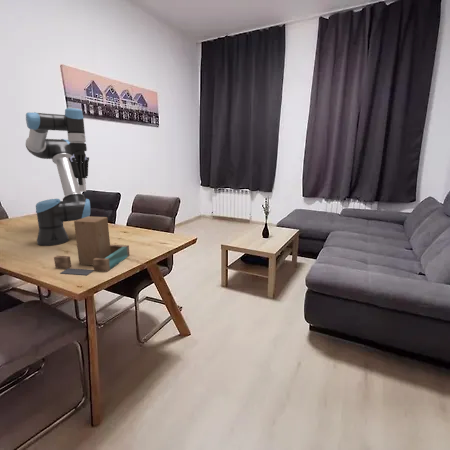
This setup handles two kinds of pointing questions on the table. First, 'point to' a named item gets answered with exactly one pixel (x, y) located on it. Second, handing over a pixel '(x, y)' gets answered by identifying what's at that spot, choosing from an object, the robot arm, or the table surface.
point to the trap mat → (77, 271)
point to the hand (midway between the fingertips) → (83, 191)
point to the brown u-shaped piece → (99, 259)
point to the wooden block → (92, 239)
